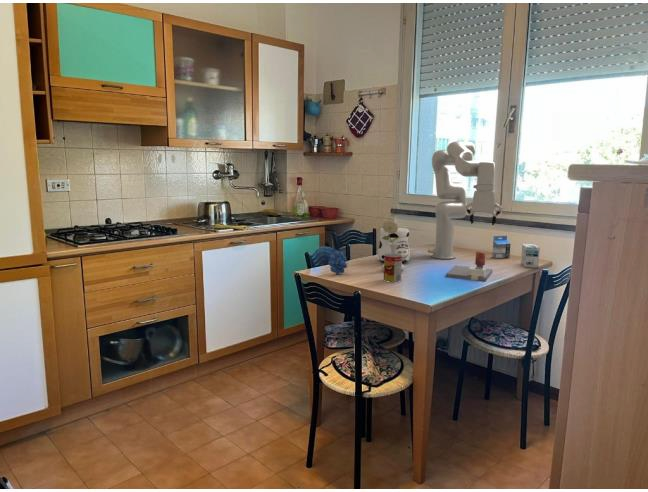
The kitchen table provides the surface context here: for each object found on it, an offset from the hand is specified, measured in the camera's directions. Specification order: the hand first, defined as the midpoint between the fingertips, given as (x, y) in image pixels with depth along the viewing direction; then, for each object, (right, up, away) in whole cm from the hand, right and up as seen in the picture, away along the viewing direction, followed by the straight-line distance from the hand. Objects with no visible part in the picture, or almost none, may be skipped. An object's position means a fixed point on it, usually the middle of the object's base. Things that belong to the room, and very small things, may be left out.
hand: (482, 224), depth 225 cm
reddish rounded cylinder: (0, -22, +4) cm, 23 cm away
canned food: (-45, -27, -10) cm, 53 cm away
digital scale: (-5, -24, +2) cm, 25 cm away
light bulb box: (+32, -21, +22) cm, 44 cm away
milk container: (-38, -19, +30) cm, 52 cm away
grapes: (-69, -25, 0) cm, 73 cm away
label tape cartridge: (+24, -17, +41) cm, 51 cm away
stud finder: (-4, -24, -5) cm, 25 cm away
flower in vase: (-42, -23, +10) cm, 49 cm away
